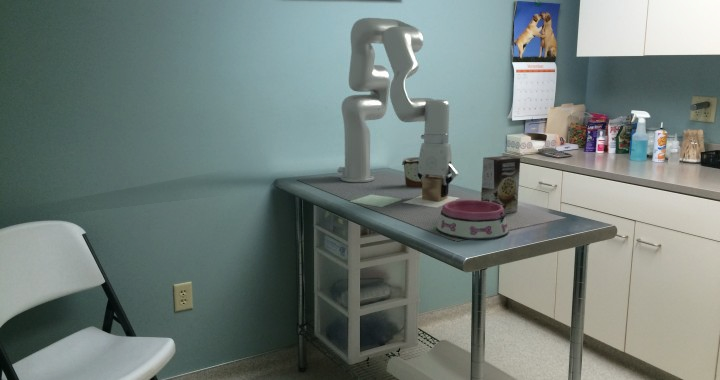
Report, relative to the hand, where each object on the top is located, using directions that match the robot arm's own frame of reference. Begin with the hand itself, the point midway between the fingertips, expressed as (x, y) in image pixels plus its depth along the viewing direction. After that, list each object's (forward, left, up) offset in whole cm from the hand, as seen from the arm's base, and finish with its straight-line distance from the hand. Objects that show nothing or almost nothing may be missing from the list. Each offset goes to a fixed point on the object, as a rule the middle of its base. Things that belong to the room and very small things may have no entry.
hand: (434, 194), depth 188 cm
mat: (-14, -13, -2) cm, 19 cm away
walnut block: (0, 0, -1) cm, 1 cm away
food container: (-15, +16, -2) cm, 22 cm away
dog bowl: (+25, -26, -2) cm, 36 cm away
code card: (0, -2, -2) cm, 3 cm away
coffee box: (+23, -3, -2) cm, 23 cm away
